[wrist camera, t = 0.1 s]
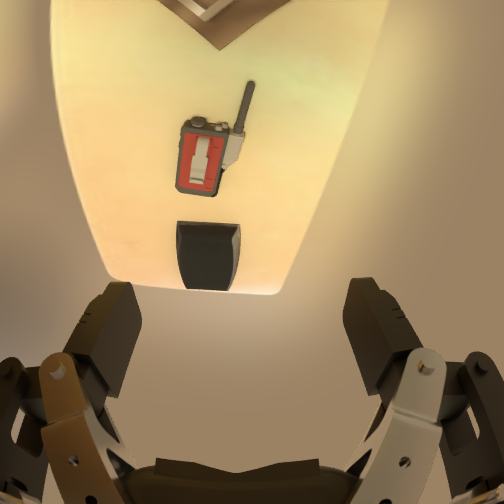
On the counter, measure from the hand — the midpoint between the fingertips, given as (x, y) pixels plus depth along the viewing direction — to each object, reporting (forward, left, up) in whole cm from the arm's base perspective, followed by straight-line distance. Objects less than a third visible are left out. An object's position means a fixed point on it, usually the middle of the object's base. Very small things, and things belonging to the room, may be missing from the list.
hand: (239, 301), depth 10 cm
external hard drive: (+23, -30, -32) cm, 49 cm away
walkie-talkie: (+5, -10, -32) cm, 34 cm away
